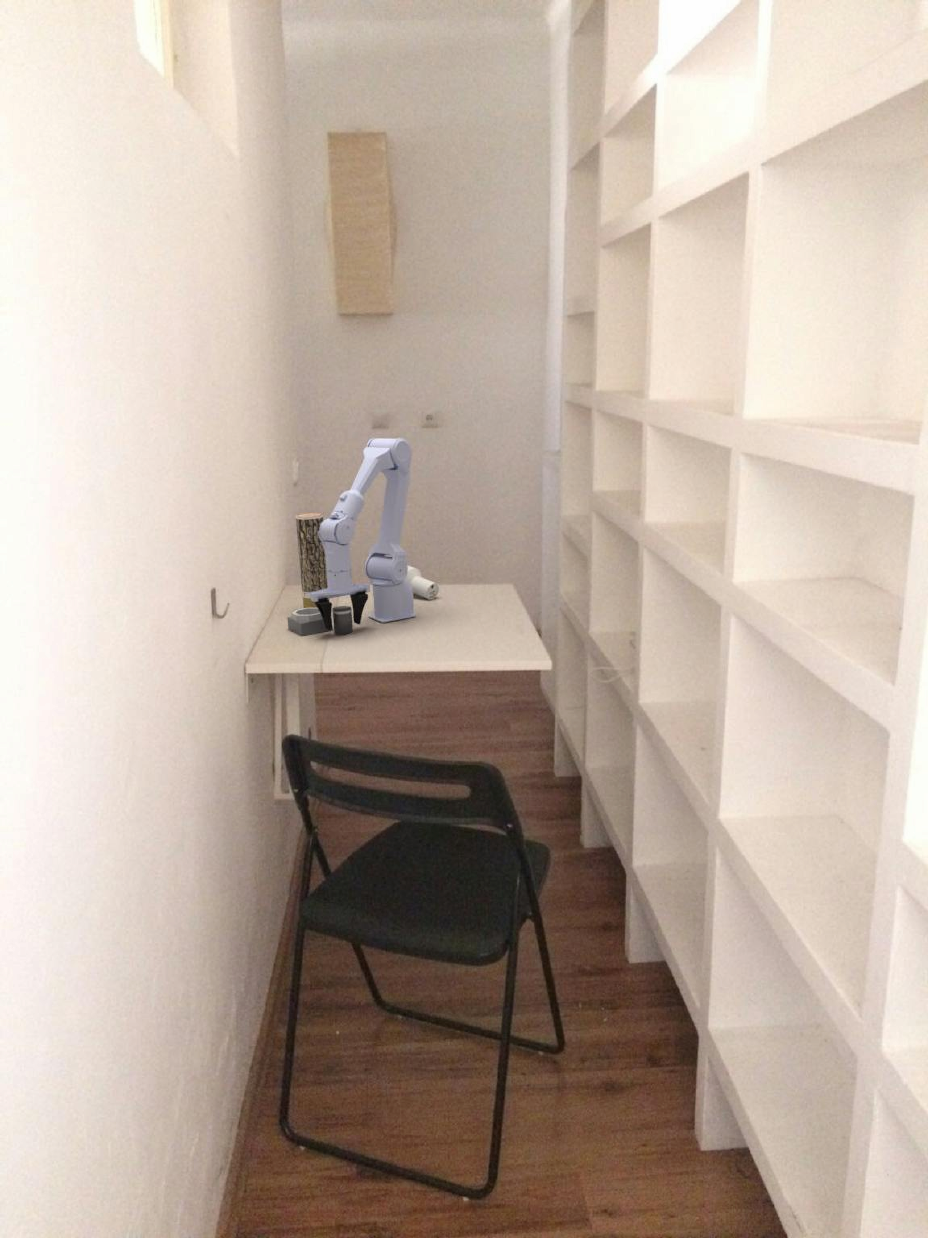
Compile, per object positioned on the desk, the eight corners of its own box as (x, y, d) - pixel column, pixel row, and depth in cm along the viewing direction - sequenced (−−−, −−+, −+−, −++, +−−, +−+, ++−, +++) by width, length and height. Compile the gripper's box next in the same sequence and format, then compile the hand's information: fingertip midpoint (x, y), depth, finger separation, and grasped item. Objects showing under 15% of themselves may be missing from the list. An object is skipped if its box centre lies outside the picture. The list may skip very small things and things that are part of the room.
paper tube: (332, 607, 254) (325, 512, 248) (326, 614, 248) (319, 517, 241) (307, 608, 255) (299, 513, 249) (300, 614, 248) (292, 517, 242)
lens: (348, 629, 233) (346, 604, 231) (356, 633, 229) (354, 608, 227) (331, 632, 230) (329, 608, 229) (339, 636, 227) (337, 611, 225)
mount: (318, 623, 239) (317, 605, 238) (332, 630, 232) (331, 611, 231) (288, 629, 235) (286, 611, 234) (301, 636, 228) (300, 617, 227)
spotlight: (413, 586, 269) (412, 560, 265) (444, 599, 262) (443, 572, 258) (393, 597, 264) (391, 571, 260) (423, 610, 257) (422, 584, 253)
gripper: (359, 562, 233) (362, 617, 236) (303, 571, 225) (308, 628, 229) (372, 567, 227) (376, 623, 230) (315, 576, 219) (320, 634, 223)
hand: (343, 626), depth 229 cm, fingers open, 7 cm apart
